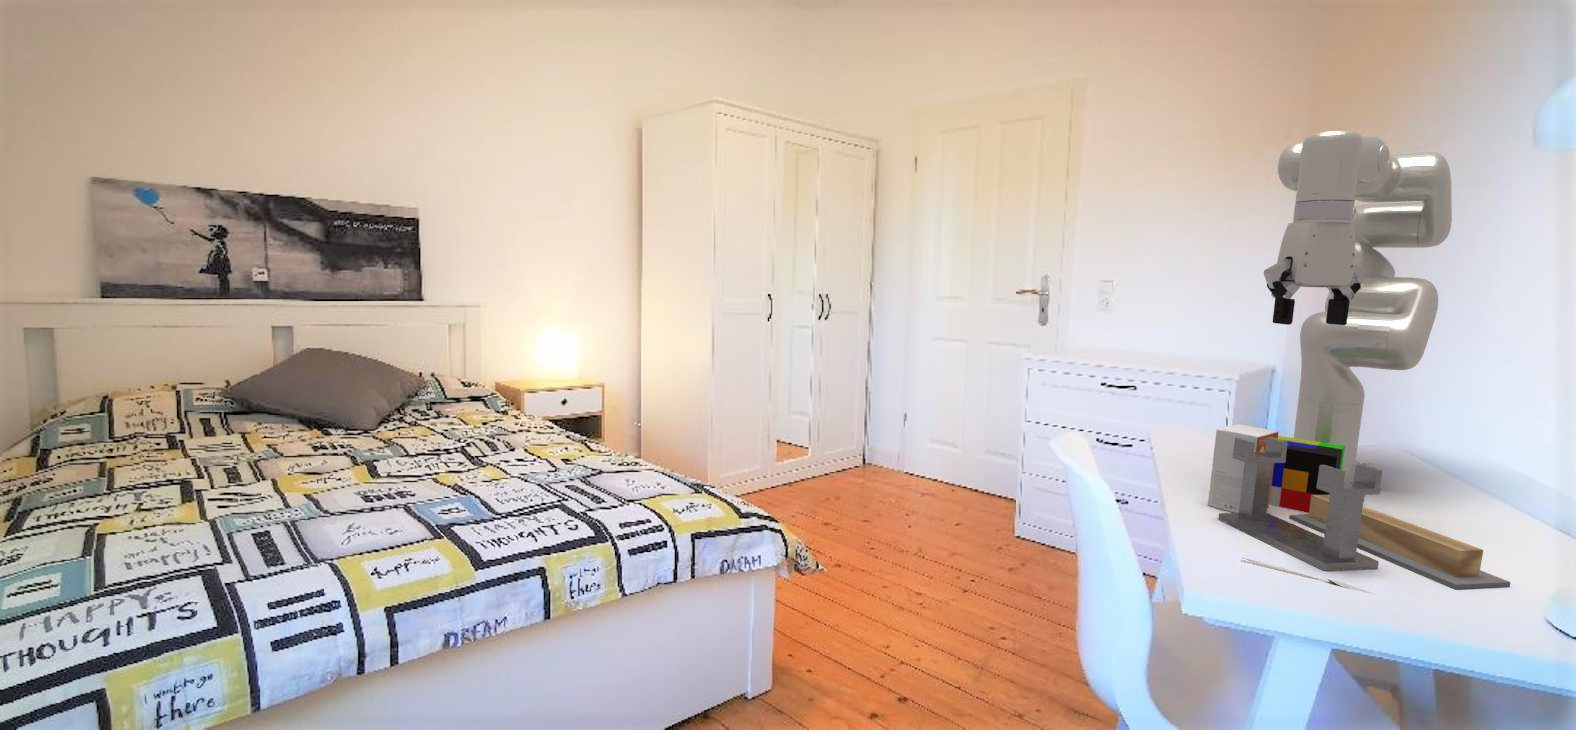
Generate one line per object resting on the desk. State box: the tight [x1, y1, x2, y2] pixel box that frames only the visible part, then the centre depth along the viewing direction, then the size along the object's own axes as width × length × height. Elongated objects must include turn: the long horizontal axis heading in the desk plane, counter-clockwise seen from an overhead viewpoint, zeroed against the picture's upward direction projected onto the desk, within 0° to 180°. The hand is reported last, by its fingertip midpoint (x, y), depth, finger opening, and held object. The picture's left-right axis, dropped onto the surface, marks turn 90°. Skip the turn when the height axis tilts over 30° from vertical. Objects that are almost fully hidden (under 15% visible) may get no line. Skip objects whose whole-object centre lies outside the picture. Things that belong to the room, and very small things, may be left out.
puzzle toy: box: [1269, 435, 1345, 514], centre depth 122 cm, size 10×10×10 cm
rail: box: [1308, 495, 1484, 577], centre depth 103 cm, size 4×22×4 cm, turn 8°
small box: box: [1207, 423, 1280, 513], centre depth 118 cm, size 8×6×13 cm
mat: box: [1288, 513, 1511, 590], centre depth 103 cm, size 8×25×1 cm, turn 8°
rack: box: [1217, 437, 1383, 572], centre depth 103 cm, size 8×19×13 cm, turn 8°
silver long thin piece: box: [1241, 557, 1377, 596], centre depth 91 cm, size 4×1×19 cm
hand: (1309, 324), depth 115 cm, fingers open, 9 cm apart
